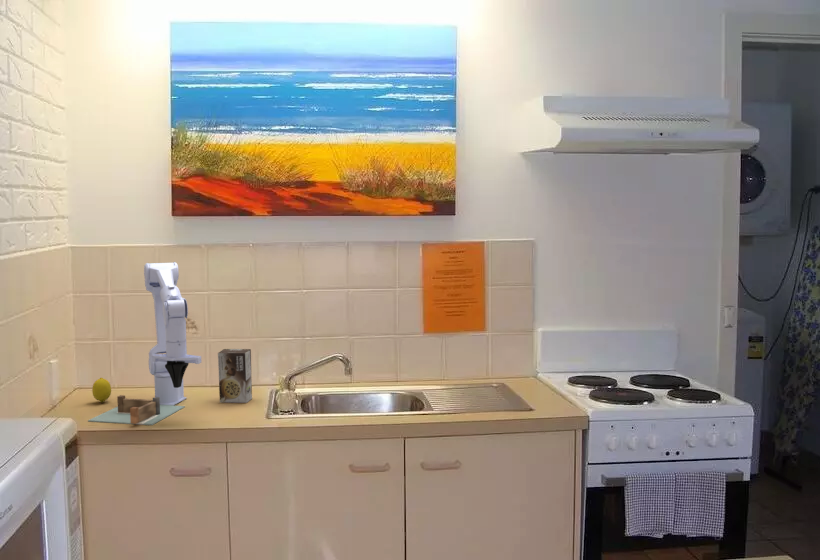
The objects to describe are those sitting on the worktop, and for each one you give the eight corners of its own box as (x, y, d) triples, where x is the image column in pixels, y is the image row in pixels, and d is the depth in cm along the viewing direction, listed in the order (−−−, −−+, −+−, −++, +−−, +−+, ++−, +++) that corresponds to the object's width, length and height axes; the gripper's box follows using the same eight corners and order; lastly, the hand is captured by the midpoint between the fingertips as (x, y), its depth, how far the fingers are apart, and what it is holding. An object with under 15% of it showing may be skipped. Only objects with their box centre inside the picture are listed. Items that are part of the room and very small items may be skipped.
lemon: (114, 400, 256) (113, 375, 255) (108, 404, 250) (107, 379, 249) (96, 400, 256) (95, 375, 255) (90, 404, 250) (89, 379, 249)
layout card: (125, 403, 251) (125, 402, 251) (184, 407, 248) (184, 405, 248) (88, 421, 232) (88, 420, 232) (152, 425, 228) (151, 423, 228)
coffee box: (252, 398, 259) (251, 348, 257) (246, 403, 252) (245, 352, 251) (225, 397, 260) (224, 348, 258) (218, 402, 253) (217, 352, 252)
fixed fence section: (117, 413, 240) (116, 396, 239) (121, 412, 242) (120, 395, 241) (158, 416, 237) (157, 398, 237) (161, 414, 239) (160, 397, 239)
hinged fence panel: (151, 413, 237) (151, 398, 237) (156, 413, 237) (156, 399, 237) (130, 423, 227) (130, 408, 227) (135, 423, 227) (135, 408, 226)
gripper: (146, 342, 230) (147, 388, 232) (193, 344, 227) (194, 391, 229) (158, 338, 237) (159, 383, 238) (204, 339, 234) (205, 385, 236)
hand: (177, 386), depth 234 cm, fingers closed
